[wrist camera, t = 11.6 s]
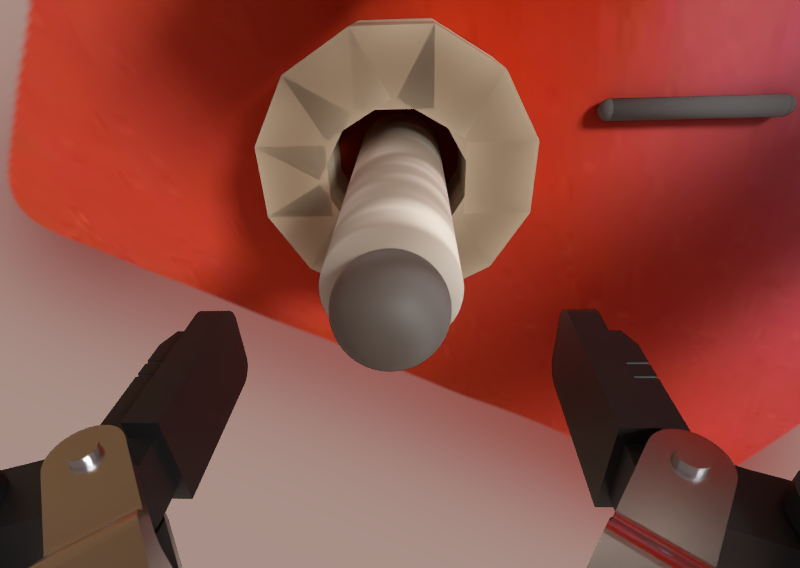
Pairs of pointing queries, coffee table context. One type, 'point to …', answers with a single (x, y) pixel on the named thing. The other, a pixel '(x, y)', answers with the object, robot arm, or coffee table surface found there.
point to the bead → (398, 89)
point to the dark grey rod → (696, 107)
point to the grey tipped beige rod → (393, 251)
